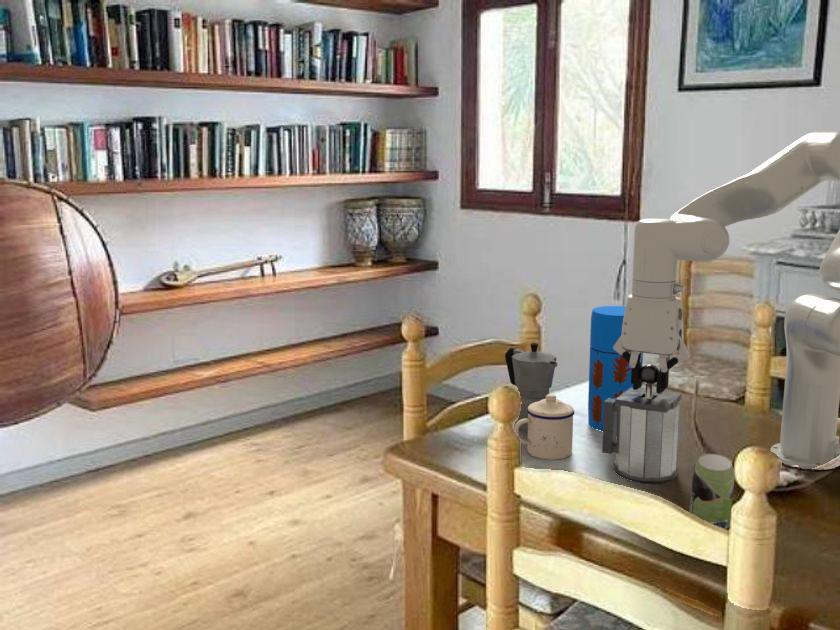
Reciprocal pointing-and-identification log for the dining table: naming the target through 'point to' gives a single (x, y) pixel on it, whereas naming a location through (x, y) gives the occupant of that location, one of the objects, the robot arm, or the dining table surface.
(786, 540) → the dining table surface
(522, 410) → the coffeepot
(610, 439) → the press pot
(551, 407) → the teacup with lid
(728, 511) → the beverage can
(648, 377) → the plunger
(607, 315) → the thermos
